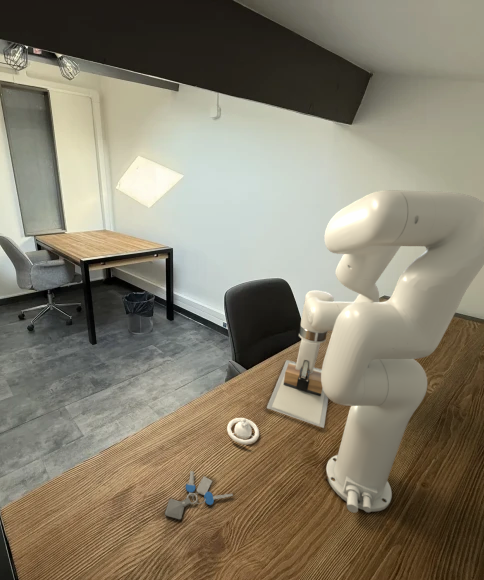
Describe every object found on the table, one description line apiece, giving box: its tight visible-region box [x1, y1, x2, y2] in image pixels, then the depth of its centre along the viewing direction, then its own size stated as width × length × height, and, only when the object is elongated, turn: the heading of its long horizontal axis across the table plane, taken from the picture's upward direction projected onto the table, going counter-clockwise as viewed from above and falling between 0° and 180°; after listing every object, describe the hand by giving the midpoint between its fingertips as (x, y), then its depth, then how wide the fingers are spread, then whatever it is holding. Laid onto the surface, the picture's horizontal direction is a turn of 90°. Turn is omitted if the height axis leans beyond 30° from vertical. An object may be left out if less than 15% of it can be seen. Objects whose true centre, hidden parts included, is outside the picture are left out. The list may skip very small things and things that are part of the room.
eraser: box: [283, 364, 322, 396], centre depth 94 cm, size 5×11×5 cm, turn 63°
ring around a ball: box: [226, 417, 260, 446], centre depth 76 cm, size 8×6×8 cm
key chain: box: [164, 470, 234, 520], centre depth 62 cm, size 14×8×1 cm, turn 114°
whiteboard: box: [266, 359, 329, 429], centre depth 94 cm, size 28×15×1 cm, turn 153°
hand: (303, 383), depth 94 cm, fingers closed on eraser, 5 cm apart
